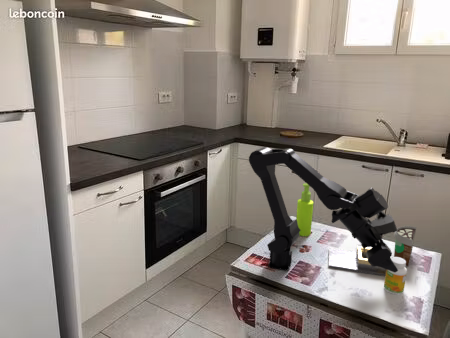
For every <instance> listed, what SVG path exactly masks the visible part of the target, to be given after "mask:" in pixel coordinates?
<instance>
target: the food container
mask: <svg viewBox="0 0 450 338" xmlns="http://www.w3.org/2000/svg"><path fill="white" fill-rule="evenodd" d="M416 231H417V226H411V225H403V226H398V227H397V231H396V232H393V237H394V239H395V241H394V251H393V252H394V254H393V257H400V258H402V259H404V260H405V261H406V266H405V267H409V266H410V265H409V264H410V261H411V257H412V253H413V247H414V243H415V236H416Z"/></svg>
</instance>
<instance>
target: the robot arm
mask: <svg viewBox="0 0 450 338" xmlns="http://www.w3.org/2000/svg"><path fill="white" fill-rule="evenodd" d="M248 163H249V165H250V167H251V168H252V170H253V173H255V175H256V176H258V178H259V179H260V181H261V184H262V187H263V190H264V193H265V197H266V200H267V202H268V203H267V204H268V206H269V209H270V212H271V217H272V218H273V221H274V223H273V235H274V238H273V239H272V240H271V241H270V242H269V243H268V244H266V245H267V249H268V251H269V262H268V266H267V267H268V268H270V269H276V270H281V271H290V267H291V265H292V262H293V261H292V260H293V259H292V258H293V251H292V249H291V248H292V246H293V245H294V244H295V243H296V242H297V240H299V237H300V236H299V235H300V234H299V232H300V231H301V230H300V229H299V227H298V223H297V220H296V219H294V220H293V219H292V218H291V217H290V216H289V214H288V210H287V207H286V204H285V201H284V198H283V195H282V192H281V188H280V185H279V183H278V179H277V176H276V166H277V165H285V166H286V167H287V169H290V170H291V171H292V172H293V173H294V174H295V175H297V177H299V178H300V179H301V180H302V181H303V182H305V183H307V184H308V185H309V186H310V187H309V188H311V189H313V191H314V192H315V194H316V196H317V198H318V200H320V201H321V203H322V204H323V205H324V207H326V209H328V210H330V211H331V223H332V224H335V223H336V222H338V221H339V222H340V223H341V224H343V226H344V227H345V228H346V229H347V230H348V231H349V233H351V236H352V237H353V238H354V239H356V240H357V241H358V242H359V243H360V246H361V247H363V248H364V249H365V248H367V247H368V248H371V249H370V250H368V251H367V253H366V257H367V260H368V262H369V263H370V264H371V265H372V267H375V266H378V267H382V268H384V269H387V270H390V271H392V272H397V271H398V269H397V268H396V266H395V264H394V263H393V261H392V260H391V258H392V256H393V252H392V250H391V248H390V247H389V246H388V245H387V244H386V242H384V240H383V239H382V238H383V236H385V235H387V234H391V233H395V232H396V231H397V228H398V227H397V226H396V225H397V224H396V222H395V220H394V218H393V216H392V215H390V214H389V213H388V214H387V213H385V212H384V211H385V210H386V209H387V210H388V208H389V205H388V202H387V200H386V198H385V197H384V196H383V194H381V193H379V191H377V190H375V189H374V188H373V187H372V186H371V187H370V188H368V189H367V190H366V191H364V192H363V193H361V194H360V195H359V194H357V193H354V192H352V191H349V190H347V189H346V188H345V187H344V186H342V185H341V184H339V183H337V182H336V181H333V180H330V179H328V178H326V177H325V176H323V175H322V173H320V172H318V171H317V170H316V169H315V168H313V167H312V166H311V165H310V164H309V163H308V162H307V161H306V160H305V159H303V158H302V157H301V156H300V155H298V154H297V153H296V152H295V150H294V149H292V148H290V147H289V148H269V147H267V146H264V147H260V148H259V149H256V150H254V151H252V152H251V153H250V154H249V156H248ZM374 216H376V217H374ZM373 217H374V220H370V219H371V218H373Z"/></svg>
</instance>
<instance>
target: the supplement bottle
mask: <svg viewBox="0 0 450 338" xmlns="http://www.w3.org/2000/svg"><path fill="white" fill-rule="evenodd" d="M390 258H391V260H392V261H393V263H394V264H395V266H396V268H397V269H398V271H397V272H392V271H390V270H386V276H384V283H383V288H384V290H385V291H386V292H388V293H390V294H392V295H401V294H403V293H404V291H405V286H406V285H405V284H406V281H407V275H408V269H407V268H406V267H407V266H406V261H405V260H404V259H402V258H400V257H394V256H393V257H392V256H391V257H390Z"/></svg>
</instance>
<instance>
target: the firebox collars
mask: <svg viewBox="0 0 450 338" xmlns="http://www.w3.org/2000/svg"><path fill="white" fill-rule="evenodd" d="M371 248H372V247H367V248H365V249H364V248H363V247H362V245H360V246H358V245H356V251H353V250H345V249H341V248H340V249H339V248H332V247H329V249H328V268H331V269H335V270H336V269H337V270H343V271H350V272H356V273H361V274H362V273H363V274H369V275H375V276H381V277H385V276H386V270H387V269H384V268H382V267H378V266H375V267H372V265H371V264H370V263H369V262H368V260H367V257H366V253H367V251H368V250H370V249H371Z"/></svg>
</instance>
